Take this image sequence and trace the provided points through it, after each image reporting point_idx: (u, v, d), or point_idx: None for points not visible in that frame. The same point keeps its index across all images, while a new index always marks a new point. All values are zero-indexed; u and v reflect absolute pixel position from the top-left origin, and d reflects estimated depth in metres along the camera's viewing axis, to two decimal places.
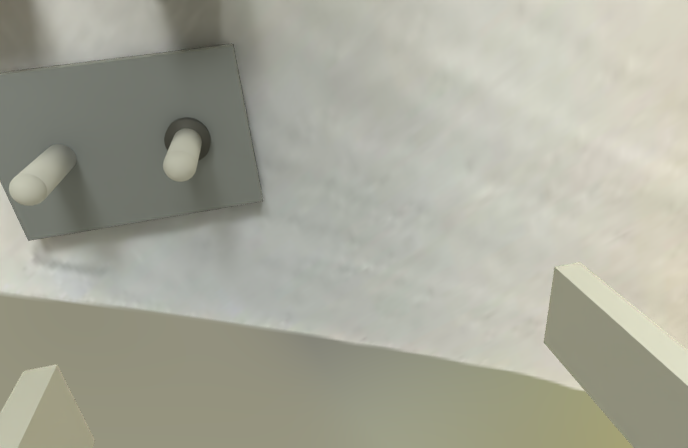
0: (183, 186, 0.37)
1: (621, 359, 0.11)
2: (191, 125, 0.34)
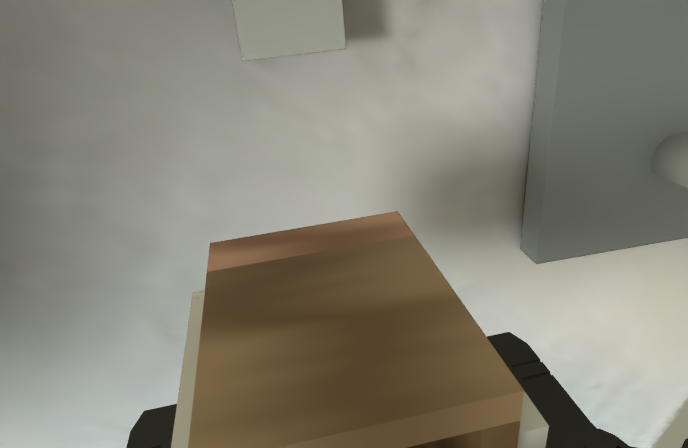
0: None
1: None
2: None
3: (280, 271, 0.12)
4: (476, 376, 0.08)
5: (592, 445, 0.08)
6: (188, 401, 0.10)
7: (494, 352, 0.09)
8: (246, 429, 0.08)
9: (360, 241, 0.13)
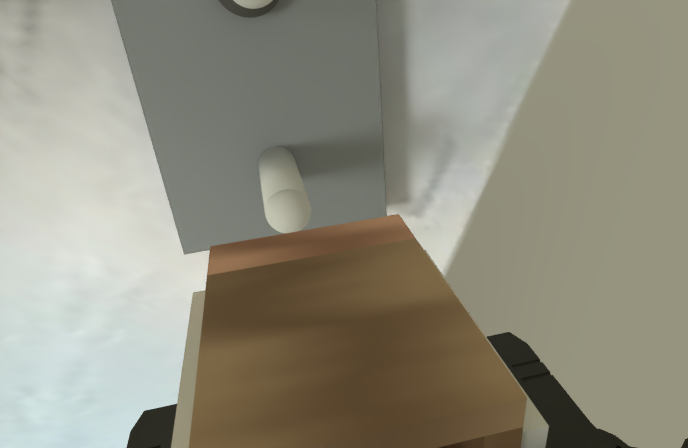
0: (328, 0, 0.23)
1: None
2: None
3: (280, 274, 0.11)
4: (478, 382, 0.08)
5: (592, 445, 0.08)
6: (188, 401, 0.10)
7: (497, 357, 0.09)
8: (246, 436, 0.07)
9: (361, 244, 0.12)
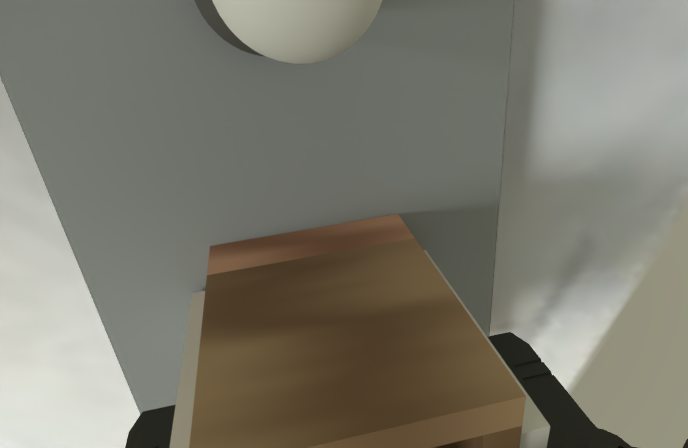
0: (424, 19, 0.12)
1: None
2: None
3: (280, 274, 0.12)
4: (478, 382, 0.08)
5: (594, 445, 0.08)
6: (186, 402, 0.10)
7: (496, 357, 0.09)
8: (247, 436, 0.07)
9: (360, 244, 0.12)
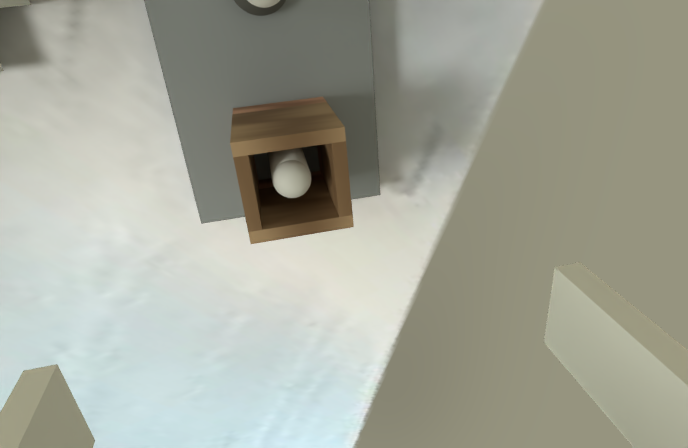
0: (327, 1, 0.26)
1: (621, 360, 0.11)
2: None
3: (264, 112, 0.26)
4: (330, 126, 0.23)
5: None
6: None
7: (341, 123, 0.23)
8: (249, 137, 0.22)
9: (302, 104, 0.27)
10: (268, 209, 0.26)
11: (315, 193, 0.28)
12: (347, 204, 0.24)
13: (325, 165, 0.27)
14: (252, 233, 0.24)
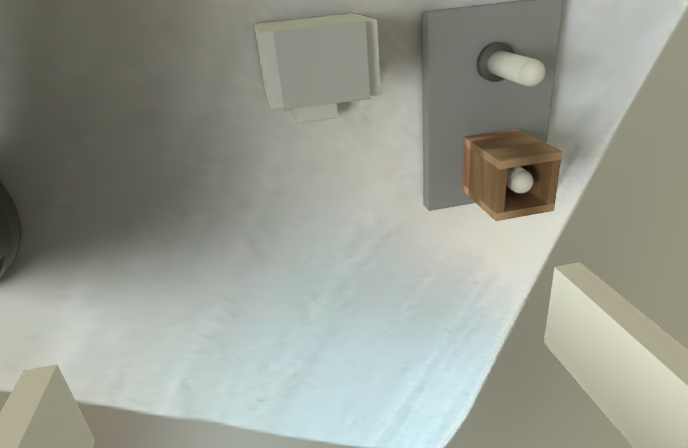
0: None
1: (621, 360, 0.11)
2: (486, 57, 0.40)
3: (492, 140, 0.42)
4: (551, 150, 0.39)
5: None
6: None
7: (554, 148, 0.40)
8: (507, 157, 0.38)
9: (510, 134, 0.43)
10: None
11: None
12: (553, 196, 0.41)
13: None
14: (498, 214, 0.40)
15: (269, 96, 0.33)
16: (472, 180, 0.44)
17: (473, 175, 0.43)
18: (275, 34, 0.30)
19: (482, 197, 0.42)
